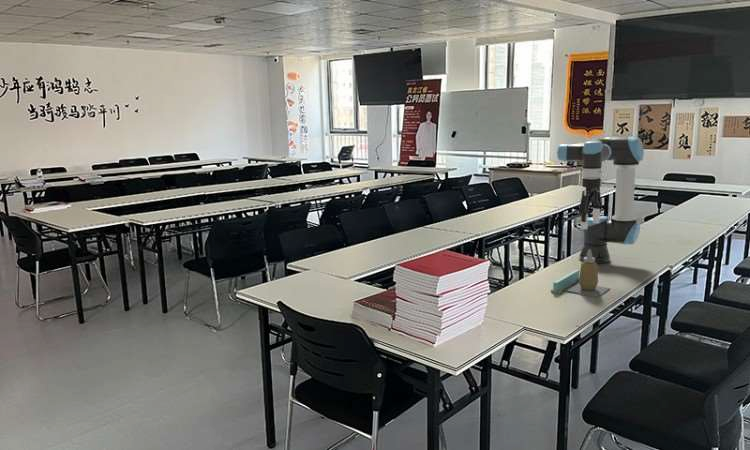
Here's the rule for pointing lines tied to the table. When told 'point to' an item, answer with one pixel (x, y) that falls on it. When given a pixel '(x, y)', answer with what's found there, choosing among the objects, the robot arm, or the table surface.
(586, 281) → the squeeze bottle
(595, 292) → the mat
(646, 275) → the table surface
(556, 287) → the fence
